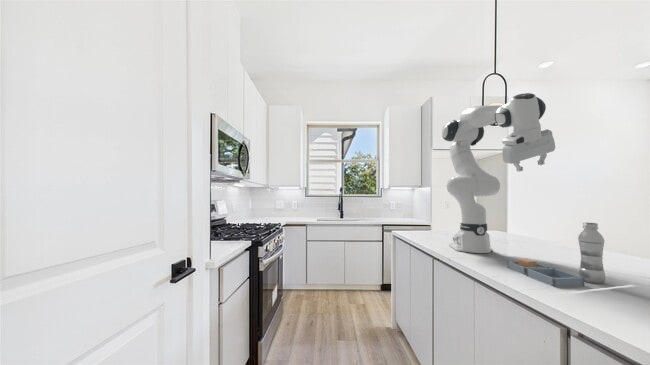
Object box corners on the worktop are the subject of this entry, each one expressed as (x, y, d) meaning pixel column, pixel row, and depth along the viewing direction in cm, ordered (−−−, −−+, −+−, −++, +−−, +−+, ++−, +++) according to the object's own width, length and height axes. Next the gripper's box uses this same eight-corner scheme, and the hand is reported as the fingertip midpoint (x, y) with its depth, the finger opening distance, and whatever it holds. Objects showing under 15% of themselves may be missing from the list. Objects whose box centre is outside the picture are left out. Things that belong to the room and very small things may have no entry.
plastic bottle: (594, 279, 96) (591, 222, 96) (612, 286, 89) (609, 224, 90) (573, 279, 97) (571, 222, 97) (590, 286, 90) (588, 224, 90)
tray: (526, 277, 99) (526, 268, 99) (554, 276, 100) (553, 268, 100) (553, 288, 88) (553, 278, 88) (584, 287, 88) (584, 277, 89)
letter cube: (518, 269, 107) (518, 259, 107) (527, 268, 108) (526, 258, 108) (528, 272, 103) (527, 261, 103) (536, 271, 104) (536, 261, 104)
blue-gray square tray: (507, 269, 110) (507, 261, 110) (529, 268, 110) (529, 260, 110) (525, 276, 101) (525, 267, 101) (549, 275, 101) (549, 267, 101)
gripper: (544, 127, 114) (547, 159, 118) (498, 141, 114) (502, 173, 117) (558, 128, 108) (561, 161, 111) (509, 142, 107) (513, 176, 111)
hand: (530, 167), depth 114 cm, fingers open, 8 cm apart
